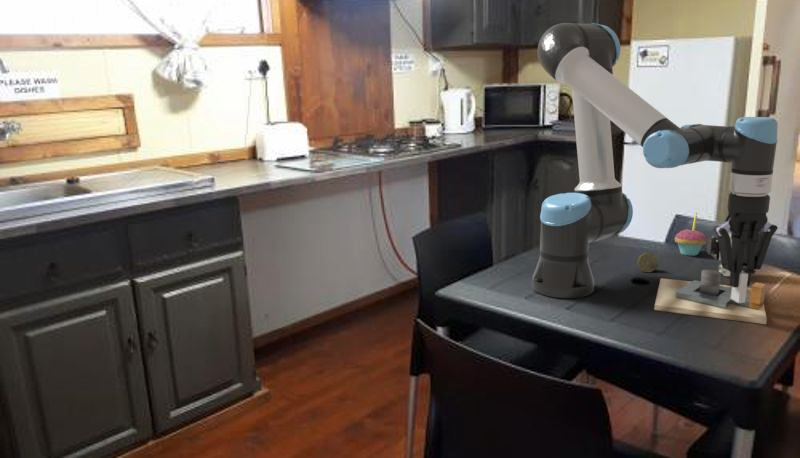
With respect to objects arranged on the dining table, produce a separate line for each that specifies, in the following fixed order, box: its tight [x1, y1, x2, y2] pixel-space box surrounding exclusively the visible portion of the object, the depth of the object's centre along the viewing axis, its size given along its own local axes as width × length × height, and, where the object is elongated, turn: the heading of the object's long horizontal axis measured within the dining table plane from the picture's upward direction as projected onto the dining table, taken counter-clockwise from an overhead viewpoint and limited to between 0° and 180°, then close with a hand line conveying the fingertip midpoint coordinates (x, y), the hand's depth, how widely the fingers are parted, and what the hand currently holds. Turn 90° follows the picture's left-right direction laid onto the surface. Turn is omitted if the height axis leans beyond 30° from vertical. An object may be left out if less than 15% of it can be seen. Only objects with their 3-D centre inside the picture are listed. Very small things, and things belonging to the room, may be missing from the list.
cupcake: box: [674, 212, 708, 257], centre depth 180 cm, size 9×8×12 cm
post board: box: [654, 269, 768, 325], centre depth 143 cm, size 22×20×7 cm
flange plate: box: [675, 279, 767, 309], centre depth 141 cm, size 16×11×5 cm, turn 44°
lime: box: [637, 252, 659, 273], centre depth 167 cm, size 4×5×5 cm
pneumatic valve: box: [706, 232, 732, 278], centre depth 161 cm, size 6×12×12 cm, turn 79°
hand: (737, 300), depth 133 cm, fingers closed
